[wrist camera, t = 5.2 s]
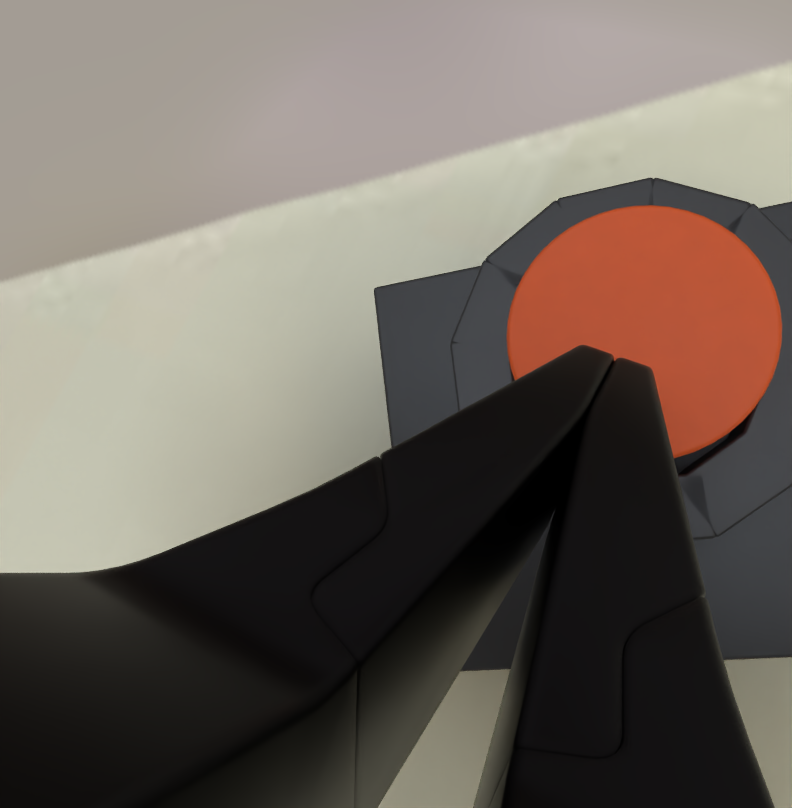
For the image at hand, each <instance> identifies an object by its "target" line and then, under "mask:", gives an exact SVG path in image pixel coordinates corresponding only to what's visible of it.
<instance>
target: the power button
mask: <svg viewBox="0 0 792 808" xmlns="http://www.w3.org/2000/svg"><path fill="white" fill-rule="evenodd" d="M781 343H782V319H781V311H780V305H779V302H778V298H777V294H776V291H775V288H774V286H773V284H772V282H771V279H770V277H769V275H768V273H767V271H766V270H765V268H764V267H763V265H762V263H761V262H760V260H759V259H758V258H757V256H756V255H755V254H754V253H753V252H752V251H751V249H750V248H749V247H748V246H747V245H746V244H745V243H744V242H743V241H741V240H740V239H739V238H738V237H737V236H736V235H735V234H733V233H732V232H730V231H729V230H727V229H726V228H725V227H723V226H722V225H720V224H718V223H716V222H714V221H712V220H710V219H708V218H706V217H704V216H701V215H699V214H696V213H693V212H690V211H687V210H682V209H677V208H673V207H666V206H654V205H646V206H630V207H624V208H617V209H613V210H610V211H606V212H603V213H599V214H597V215H594V216H592V217H590V218H587V219H585V220H583V221H581V222H579V223H577V224H575V225H574V226H572V227H570V228H568V229H567V230H566V231H564V232H563V233H561V234H560V235H559V236H557V237H556V238H555V239H554V240H552V241H551V242H550V243H549V244H548V245H547V246H546V247H545V248H544V249H543V250H542V251H541V252H540V253H539V254H538V256H537V257H536V258H535V259H534V260H533V262H532V263H531V264H530V266H529V267H528V269H527V271H526V272H525V274H524V275H523V277H522V279H521V281H520V283H519V285H518V287H517V289H516V291H515V294H514V297H513V300H512V303H511V306H510V312H509V317H508V322H507V352H508V358H509V362H510V367H511V371H512V374H513V376H514V379H515V380H517V379H519V378H520V377H522V376H524V375H526V374H528V373H529V372H531V371H533V370H535V369H537V368H539V367H540V366H542V365H544V364H546V363H548V362H550V361H551V360H553V359H555V358H557V357H559V356H561V355H562V354H564V353H566V352H568V351H570V350H571V349H573V348H575V347H577V346H579V345H587V346H590V347H593V348H596V349H599V350H602V351H605V352H608V353H610V354H612V355H613V356H614V361H615V360H616V359H617V358H621V357H622V358H626V359H628V360H631V361H634V362H637V363H640V364H643V365H646V366H649V367H650V368H651V369H652V370H653V373H654V377H655V381H656V386H657V390H658V394H659V398H660V402H661V407H662V411H663V415H664V419H665V423H666V428H667V432H668V436H669V440H670V444H671V449H672V453H673V457H674V458H677V457H680V456H683V455H687V454H690V453H693V452H696V451H698V450H700V449H702V448H704V447H706V446H709V445H711V444H712V443H714V442H716V441H717V440H719V439H720V438H722V437H724V436H725V435H727V434H728V433H729V432H730V431H732V430H733V429H734V428H735V427H737V426H738V425H739V424H740V423H741V422H742V421H743V420H744V419H745V418H746V417H747V416H748V415H749V414H750V413H751V412H752V410H753V409H754V408H755V407H756V405H757V404H758V402H759V401H760V399H761V398H762V397H763V395H764V394H765V392H766V390H767V388H768V386H769V384H770V382H771V380H772V378H773V375H774V372H775V369H776V366H777V363H778V360H779V354H780V349H781Z"/></svg>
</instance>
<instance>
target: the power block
mask: <svg viewBox="0 0 792 808" xmlns="http://www.w3.org/2000/svg"><path fill="white" fill-rule="evenodd" d="M646 205H654V206H666V207H673V208H677V209H682V210H687V211H690V212H693V213H696V214H699V215H701V216H704V217H706V218H708V219H710V220H712V221H714V222H716V223H718V224H720V225H722V226H723V227H725V228H726V229H727V230H729V231H730V232H732V233H733V234H735V235H736V236H737V237H738V238H739V239H740V240H741V241H743V242H744V243H745V244H746V245H747V246H748V247H749V248H750V249H751V251H752V252H753V253H754V254H755V255H756V256H757V258H758V259H759V260H760V262H761V263H762V265H763V267H764V268H765V270H766V271H767V273H768V275H769V277H770V279H771V282H772V284H773V286H774V288H775V291H776V294H777V298H778V302H779V305H780V311H781V319H782V343H781V349H780V354H779V360H778V363H777V366H776V369H775V372H774V375H773V378H772V380H771V382H770V384H769V386H768V388H767V390H766V392H765V394H764V395H763V397H762V398H761V399H760V401H759V402H758V404H757V405H756V407H755V408H754V409H753V410H752V412H751V413H750V414H749V415H748V416H747V417H746V418H745V419H744V420H743V421H742V422H741V423H740V424H739V425H738V426H737V427H735V428H734V429H733V430H732V431H730V432H729V433H728V434H727V435H725V436H724V437H722V438H720V439H719V440H717V441H716V442H714V443H712V444H711V445H709V446H706V447H704V448H702V449H700V450H698V451H696V452H693V453H690V454H687V455H683V456H680V457H677V458H674V461H675V465H676V469H677V474H678V478H679V482H680V486H681V490H682V495H683V499H684V503H685V507H686V511H687V516H688V520H689V524H690V528H691V532H692V537H693V541H694V545H695V549H696V553H697V558H698V562H699V566H700V570H701V574H702V578H703V583H704V587H705V591H706V595H705V597H704V598H706V599H707V600H708V602H709V606H710V610H711V615H712V619H713V623H714V627H715V632H716V636H717V639H718V643H719V646H720V650H721V653H722V657H723V660H735V659H758V658H781V657H792V202H788V203H783V204H778V205H773V206H768V207H764V208H758V207H757V206H756V205H755V204H750V203H749V202H745V201H742V200H738V199H734V198H730V197H727V196H723V195H719V194H715V193H712V192H708V191H704V190H700V189H697V188H693V187H689V186H685V185H682V184H678V183H674V182H670V181H666V180H663V179H659V178H654V179H653V178H647V179H642V180H638V181H633V182H629V183H625V184H620V185H616V186H611V187H607V188H603V189H598V190H594V191H589V192H585V193H580V194H576V195H572V196H567V197H563V198H560V199H558V201H554V202H552V203H551V204H550V205H549V206H548V207H546V208H545V209H544V210H543V211H542V212H540V213H539V214H538V215H537V216H536V217H534V218H533V219H532V220H531V221H530V222H528V223H527V224H526V225H525V226H524V227H522V228H521V229H520V230H519V231H518V232H516V233H515V234H514V235H513V236H512V237H510V238H509V239H508V240H507V241H506V242H504V243H503V244H502V245H501V246H500V247H498V248H497V249H496V250H495V251H494V252H492V253H491V254H490V255H489V256H488V257H487V258H486V261H484V262H483V263H482V265H481V266H478V267H473V268H468V269H463V270H458V271H453V272H448V273H444V274H439V275H434V276H429V277H424V278H419V279H415V280H410V281H405V282H400V283H395V284H390V285H385V286H381V287H377V288H375V289H374V296H375V305H376V314H377V323H378V331H379V340H380V349H381V358H382V367H383V376H384V384H385V393H386V402H387V411H388V420H389V429H390V438H391V446H392V447H394V446H396V445H398V444H400V443H402V442H403V441H405V440H407V439H409V438H411V437H413V436H414V435H416V434H418V433H420V432H422V431H424V430H425V429H427V428H429V427H431V426H433V425H434V424H436V423H438V422H440V421H442V420H444V419H445V418H447V417H449V416H451V415H453V414H455V413H456V412H458V411H460V410H462V409H464V408H466V407H467V406H469V405H471V404H473V403H475V402H476V401H478V400H480V399H482V398H484V397H486V396H487V395H489V394H491V393H493V392H495V391H497V390H498V389H500V388H502V387H504V386H506V385H508V384H509V383H511V382H513V381H515V379H514V376H513V374H512V371H511V367H510V362H509V358H508V352H507V322H508V317H509V312H510V306H511V303H512V300H513V297H514V294H515V291H516V289H517V287H518V285H519V283H520V281H521V279H522V277H523V275H524V274H525V272H526V271H527V269H528V267H529V266H530V264H531V263H532V262H533V260H534V259H535V258H536V257H537V256H538V254H539V253H540V252H541V251H542V250H543V249H544V248H545V247H546V246H547V245H548V244H549V243H550V242H551V241H552V240H554V239H555V238H556V237H557V236H559V235H560V234H561V233H563V232H564V231H566V230H567V229H568V228H570V227H572V226H574V225H575V224H577V223H579V222H581V221H583V220H585V219H587V218H590V217H592V216H594V215H597V214H599V213H603V212H606V211H610V210H613V209H617V208H624V207H630V206H646ZM553 515H554V514H553ZM552 518H553V516H552ZM552 518H551V520H550V522H549V524H548V526H547V528H546V529H545V531H544V533H543V535H542V537H541V538H540V540H539V542H538V543H537V545H536V547H535V548H534V550H533V552H532V553H531V555H530V557H529V558H528V560H527V561H526V563H525V565H524V566H523V568H522V570H521V571H520V573H519V575H518V576H517V578H516V580H515V581H514V583H513V585H512V586H511V588H510V590H509V591H508V593H507V594H506V596H505V598H504V599H503V601H502V603H501V604H500V606H499V608H498V609H497V611H496V613H495V614H494V616H493V618H492V619H491V621H490V623H489V624H488V626H487V627H486V629H485V631H484V632H483V634H482V636H481V637H480V639H479V641H478V642H477V644H476V646H475V647H474V649H473V651H472V652H471V654H470V656H469V657H468V659H467V660H466V662H465V664H464V665H463V667H462V669H461V670H460V671H478V670H501V669H511V666H512V662H513V658H514V655H515V651H516V647H517V644H518V640H519V636H520V633H521V629H522V625H523V622H524V618H525V614H526V610H527V607H528V603H529V599H530V596H531V592H532V588H533V585H534V581H535V577H536V574H537V570H538V566H539V563H540V559H541V555H542V551H543V548H544V544H545V541H546V537H547V534H548V531H549V528H550V524H551V521H552Z"/></svg>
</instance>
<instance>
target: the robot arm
mask: <svg viewBox="0 0 792 808" xmlns="http://www.w3.org/2000/svg"><path fill="white" fill-rule="evenodd" d="M553 514H554V515H553ZM552 516H553V518H552ZM551 518H552V521H551V524H550V528H549V531H548V534H547V537H546V541H545V544H544V548H543V551H542V555H541V559H540V563H539V566H538V570H537V574H536V577H535V581H534V585H533V588H532V592H531V596H530V599H529V603H528V607H527V610H526V614H525V618H524V622H523V625H522V629H521V633H520V636H519V640H518V644H517V647H516V651H515V655H514V658H513V662H512V666H511V669H510V673H509V677H508V681H507V684H506V688H505V692H504V695H503V699H502V703H501V706H500V710H499V714H498V717H497V721H496V725H495V728H494V732H493V736H492V740H491V743H490V747H489V751H488V754H487V758H486V762H485V765H484V769H483V773H482V776H481V780H480V784H479V787H478V791H477V795H476V799H475V802H474V806H473V808H775V807H774V804H773V802H772V799H771V796H770V794H769V791H768V788H767V786H766V783H765V780H764V778H763V775H762V772H761V770H760V767H759V765H758V762H757V759H756V757H755V754H754V751H753V749H752V746H751V743H750V740H749V737H748V735H747V732H746V729H745V726H744V723H743V720H742V717H741V714H740V712H739V709H738V706H737V703H736V700H735V697H734V694H733V692H732V689H731V686H730V682H729V679H728V675H727V671H726V668H725V664H724V661H723V657H722V653H721V650H720V646H719V643H718V639H717V636H716V632H715V627H714V623H713V619H712V615H711V610H710V606H709V602H708V600H707V599H706V598H704V597H705V595H706V591H705V587H704V583H703V578H702V574H701V570H700V566H699V562H698V558H697V553H696V549H695V545H694V541H693V537H692V532H691V528H690V524H689V520H688V516H687V511H686V507H685V503H684V499H683V495H682V490H681V486H680V482H679V478H678V474H677V469H676V465H675V461H674V457H673V453H672V449H671V444H670V440H669V436H668V432H667V428H666V423H665V419H664V415H663V411H662V407H661V402H660V398H659V394H658V390H657V386H656V381H655V377H654V373H653V370H652V369H651V368H650V367H649V366H646V365H643V364H640V363H637V362H634V361H631V360H628V359H626V358H622V357H621V358H617V359H616V360H615V361H614V356H613V355H612V354H610V353H608V352H605V351H602V350H599V349H596V348H593V347H590V346H587V345H579V346H577V347H575V348H573V349H571V350H570V351H568V352H566V353H564V354H562V355H561V356H559V357H557V358H555V359H553V360H551V361H550V362H548V363H546V364H544V365H542V366H540V367H539V368H537V369H535V370H533V371H531V372H529V373H528V374H526V375H524V376H522V377H520V378H519V379H517V380H515V381H513V382H511V383H509V384H508V385H506V386H504V387H502V388H500V389H498V390H497V391H495V392H493V393H491V394H489V395H487V396H486V397H484V398H482V399H480V400H478V401H476V402H475V403H473V404H471V405H469V406H467V407H466V408H464V409H462V410H460V411H458V412H456V413H455V414H453V415H451V416H449V417H447V418H445V419H444V420H442V421H440V422H438V423H436V424H434V425H433V426H431V427H429V428H427V429H425V430H424V431H422V432H420V433H418V434H416V435H414V436H413V437H411V438H409V439H407V440H405V441H403V442H402V443H400V444H398V445H396V446H394V447H392V448H391V449H389V450H387V451H385V452H383V453H382V454H381V456H380V458H379V457H377V456H376V457H374V458H372V459H370V460H368V461H366V462H364V463H363V464H361V465H359V466H357V467H355V468H353V469H352V470H350V471H348V472H346V473H344V474H342V475H340V476H338V477H336V478H334V479H332V480H330V481H328V482H326V483H324V484H322V485H320V486H318V487H316V488H314V489H312V490H310V491H308V492H306V493H303V494H301V495H299V496H296V497H294V498H292V499H290V500H287V501H285V502H283V503H281V504H278V505H276V506H274V507H271V508H269V509H267V510H264V511H262V512H260V513H257V514H255V515H252V516H250V517H247V518H245V519H243V520H240V521H238V522H235V523H233V524H230V525H228V526H225V527H223V528H221V529H218V530H216V531H213V532H211V533H208V534H206V535H203V536H201V537H199V538H196V539H194V540H191V541H189V542H186V543H184V544H181V545H179V546H177V547H174V548H172V549H169V550H167V551H164V552H162V553H159V554H157V555H154V556H151V557H149V558H146V559H143V560H140V561H137V562H133V563H130V564H126V565H123V566H119V567H114V568H109V569H104V570H99V571H90V572H81V573H0V808H377V807H378V806H379V804H380V802H381V801H382V799H383V797H384V796H385V794H386V792H387V791H388V789H389V787H390V786H391V784H392V783H393V781H394V779H395V778H396V776H397V774H398V773H399V771H400V769H401V768H402V766H403V764H404V763H405V761H406V759H407V758H408V756H409V754H410V753H411V751H412V750H413V748H414V746H415V745H416V743H417V741H418V740H419V738H420V736H421V735H422V733H423V731H424V730H425V728H426V726H427V725H428V723H429V722H430V720H431V718H432V717H433V715H434V713H435V712H436V710H437V708H438V707H439V705H440V703H441V702H442V700H443V698H444V697H445V695H446V693H447V692H448V690H449V689H450V687H451V685H452V684H453V682H454V680H455V679H456V677H457V675H458V674H459V672H460V670H461V669H462V667H463V665H464V664H465V662H466V660H467V659H468V657H469V656H470V654H471V652H472V651H473V649H474V647H475V646H476V644H477V642H478V641H479V639H480V637H481V636H482V634H483V632H484V631H485V629H486V627H487V626H488V624H489V623H490V621H491V619H492V618H493V616H494V614H495V613H496V611H497V609H498V608H499V606H500V604H501V603H502V601H503V599H504V598H505V596H506V594H507V593H508V591H509V590H510V588H511V586H512V585H513V583H514V581H515V580H516V578H517V576H518V575H519V573H520V571H521V570H522V568H523V566H524V565H525V563H526V561H527V560H528V558H529V557H530V555H531V553H532V552H533V550H534V548H535V547H536V545H537V543H538V542H539V540H540V538H541V537H542V535H543V533H544V531H545V529H546V528H547V526H548V524H549V522H550V520H551Z"/></svg>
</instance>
